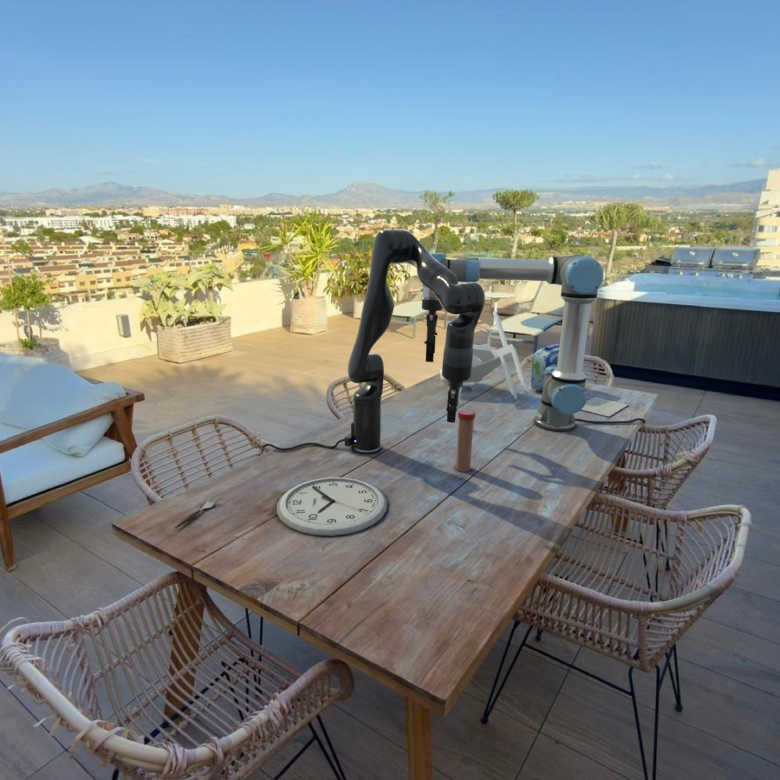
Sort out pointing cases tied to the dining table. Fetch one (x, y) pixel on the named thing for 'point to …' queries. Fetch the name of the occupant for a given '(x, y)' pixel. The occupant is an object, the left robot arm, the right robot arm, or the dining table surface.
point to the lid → (466, 414)
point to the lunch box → (543, 364)
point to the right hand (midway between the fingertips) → (430, 357)
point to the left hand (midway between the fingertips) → (452, 413)
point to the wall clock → (331, 506)
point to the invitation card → (603, 406)
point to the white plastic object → (494, 361)
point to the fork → (206, 505)
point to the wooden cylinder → (464, 445)
